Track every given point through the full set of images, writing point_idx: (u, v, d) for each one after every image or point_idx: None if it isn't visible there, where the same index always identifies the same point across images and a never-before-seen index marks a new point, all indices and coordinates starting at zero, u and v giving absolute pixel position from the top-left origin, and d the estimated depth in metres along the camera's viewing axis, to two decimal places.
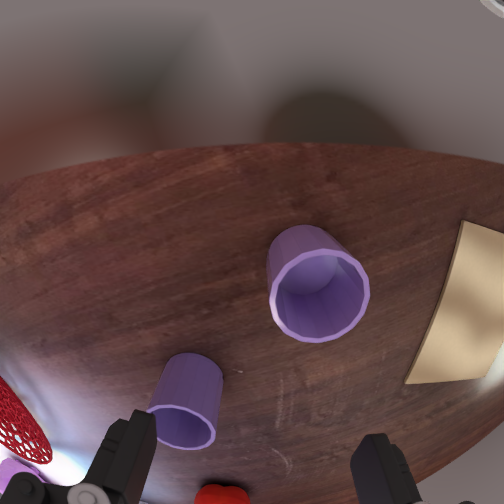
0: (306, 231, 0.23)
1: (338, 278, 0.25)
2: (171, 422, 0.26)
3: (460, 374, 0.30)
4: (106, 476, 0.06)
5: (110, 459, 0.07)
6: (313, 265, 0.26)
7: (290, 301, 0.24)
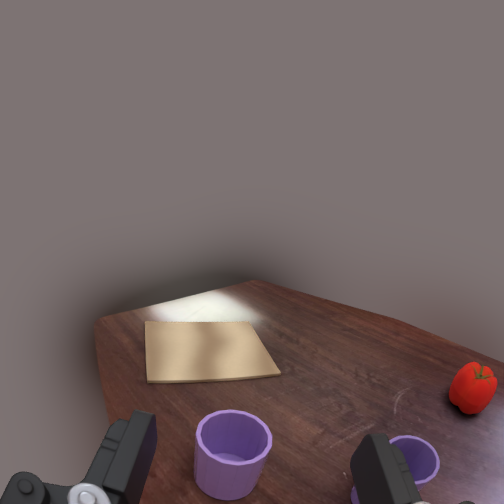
0: (198, 473, 0.22)
1: (224, 446, 0.27)
2: (421, 471, 0.20)
3: (254, 340, 0.51)
4: (106, 476, 0.06)
5: (110, 459, 0.07)
6: None
7: None
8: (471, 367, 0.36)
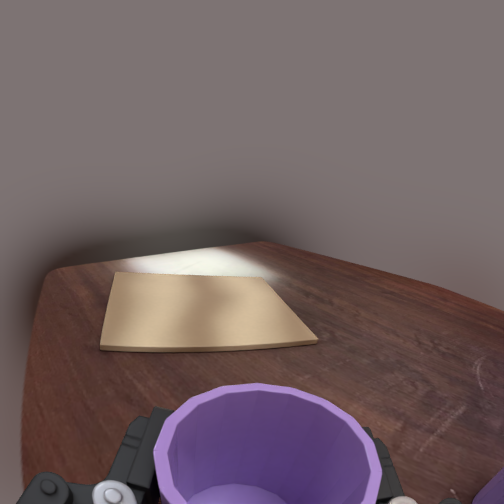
0: None
1: (235, 472, 0.11)
2: None
3: (272, 298, 0.36)
4: (130, 473, 0.06)
5: (132, 456, 0.07)
6: None
7: None
8: None
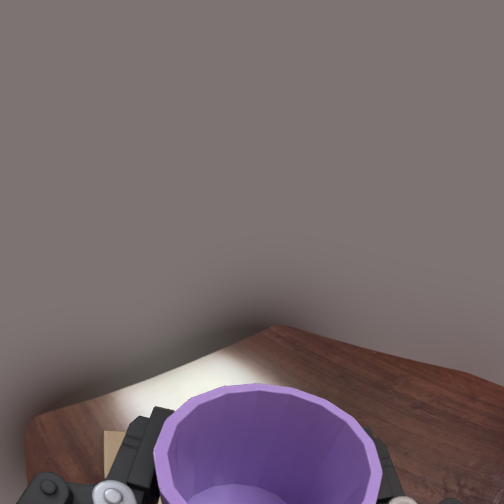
0: None
1: (235, 472, 0.11)
2: None
3: None
4: (130, 473, 0.06)
5: (132, 456, 0.07)
6: None
7: None
8: None
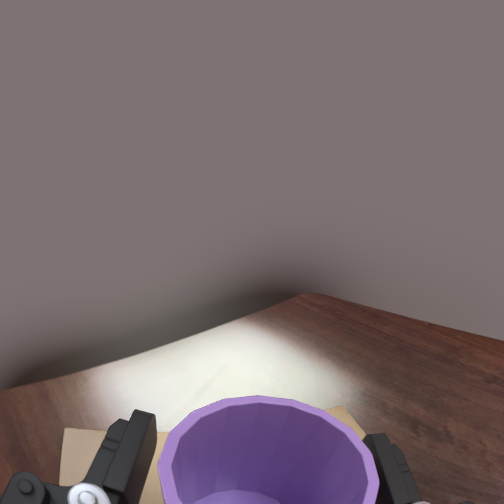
0: None
1: (237, 479, 0.11)
2: None
3: None
4: (106, 476, 0.06)
5: (110, 459, 0.07)
6: None
7: None
8: None
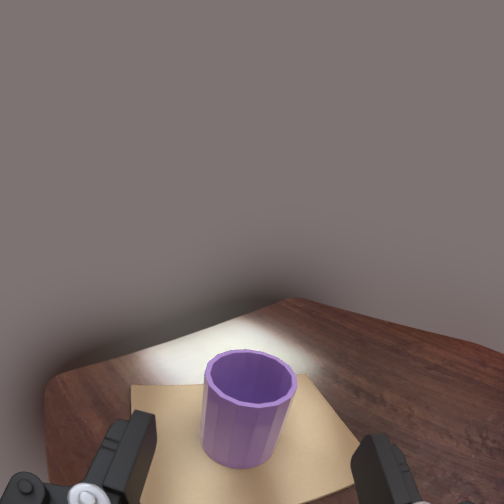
0: (206, 432, 0.19)
1: None
2: None
3: (324, 411, 0.27)
4: (106, 476, 0.06)
5: (110, 459, 0.07)
6: None
7: None
8: None
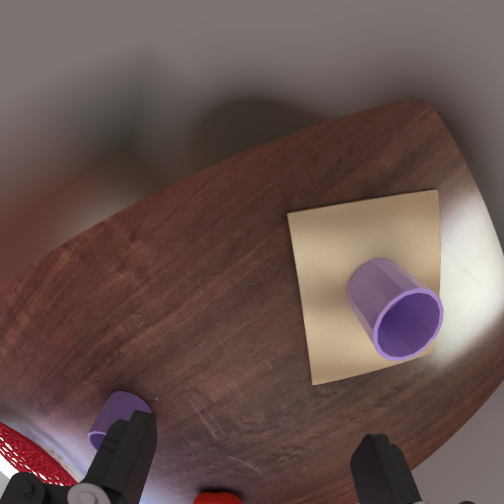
0: (377, 270, 0.25)
1: (409, 294, 0.26)
2: None
3: (387, 360, 0.31)
4: (106, 476, 0.06)
5: (110, 459, 0.07)
6: None
7: None
8: None
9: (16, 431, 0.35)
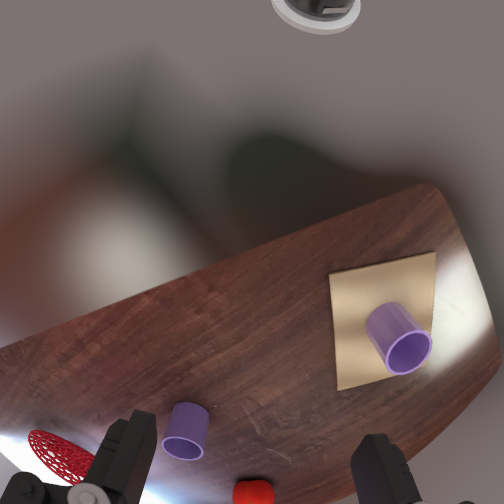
0: (389, 314, 0.35)
1: None
2: (183, 445, 0.40)
3: None
4: (106, 476, 0.06)
5: (110, 459, 0.07)
6: None
7: None
8: None
9: (69, 441, 0.45)
